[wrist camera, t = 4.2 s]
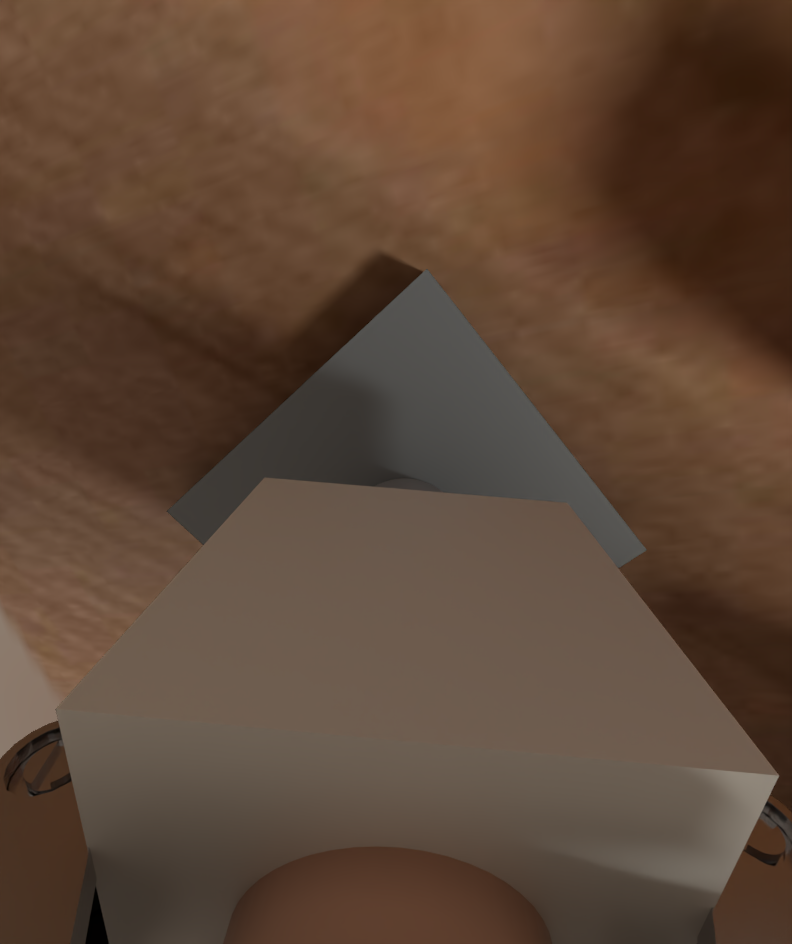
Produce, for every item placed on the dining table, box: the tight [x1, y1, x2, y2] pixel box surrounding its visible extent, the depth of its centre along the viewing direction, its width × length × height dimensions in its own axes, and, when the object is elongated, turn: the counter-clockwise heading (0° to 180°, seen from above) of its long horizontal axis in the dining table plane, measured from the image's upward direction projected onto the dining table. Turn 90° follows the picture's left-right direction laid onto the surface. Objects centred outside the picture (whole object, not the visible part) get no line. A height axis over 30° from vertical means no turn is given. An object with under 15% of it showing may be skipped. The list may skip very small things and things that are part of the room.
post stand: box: [167, 269, 646, 568], centre depth 12 cm, size 11×11×10 cm
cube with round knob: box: [56, 478, 779, 944], centre depth 7 cm, size 6×6×8 cm
